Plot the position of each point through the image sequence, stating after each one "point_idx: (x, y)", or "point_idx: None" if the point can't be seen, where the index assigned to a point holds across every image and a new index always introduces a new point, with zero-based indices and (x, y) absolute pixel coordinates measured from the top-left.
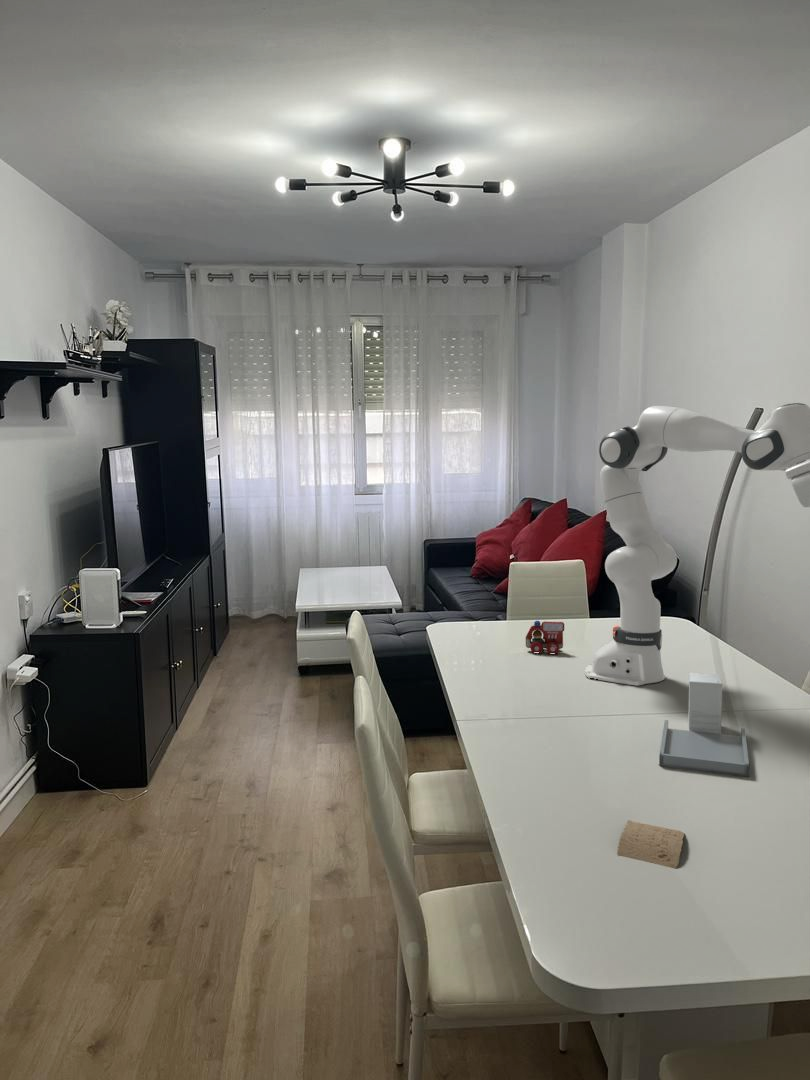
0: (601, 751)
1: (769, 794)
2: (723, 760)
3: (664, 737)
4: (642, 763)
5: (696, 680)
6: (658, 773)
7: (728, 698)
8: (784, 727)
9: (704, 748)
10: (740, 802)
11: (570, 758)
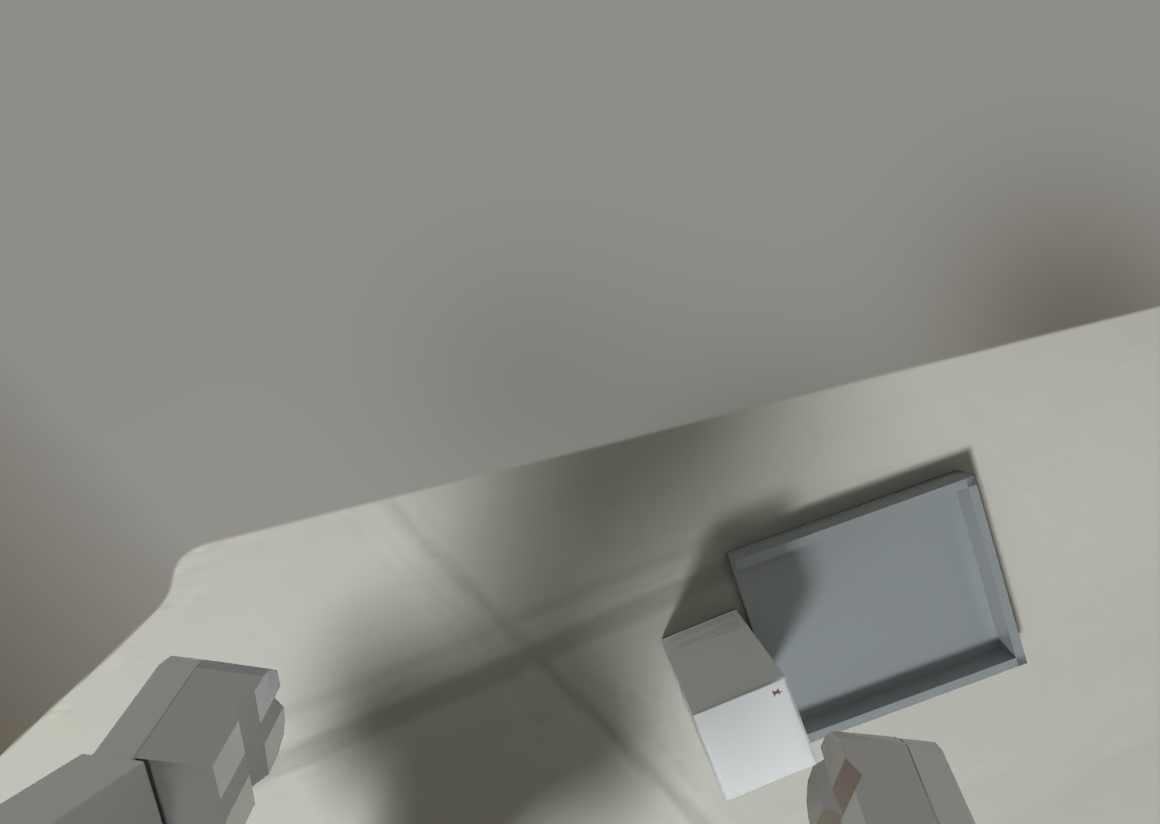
0: (1002, 786)
1: (1021, 406)
2: (911, 543)
3: (916, 697)
4: (1015, 684)
5: (800, 750)
6: (1048, 634)
7: (424, 694)
8: (576, 495)
9: (865, 605)
10: (1094, 443)
11: (1078, 820)
